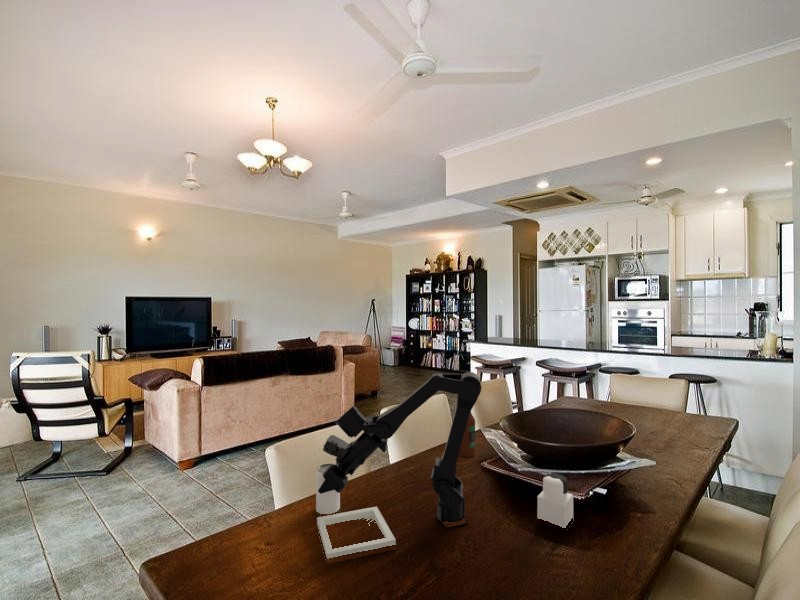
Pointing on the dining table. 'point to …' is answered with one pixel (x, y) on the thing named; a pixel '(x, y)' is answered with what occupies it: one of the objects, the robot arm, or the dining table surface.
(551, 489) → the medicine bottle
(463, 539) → the dining table surface
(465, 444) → the bottle
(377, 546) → the tray
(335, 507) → the can
